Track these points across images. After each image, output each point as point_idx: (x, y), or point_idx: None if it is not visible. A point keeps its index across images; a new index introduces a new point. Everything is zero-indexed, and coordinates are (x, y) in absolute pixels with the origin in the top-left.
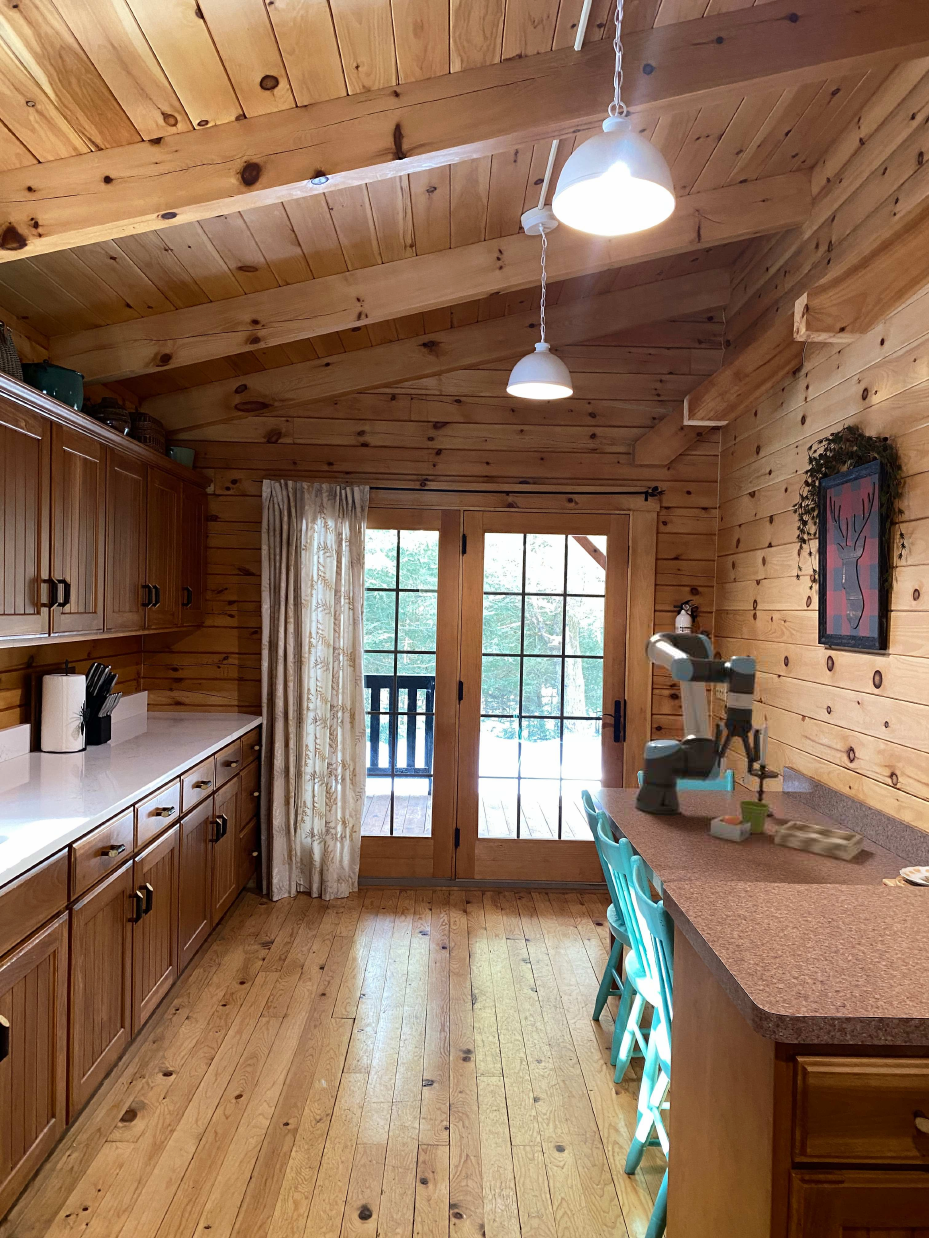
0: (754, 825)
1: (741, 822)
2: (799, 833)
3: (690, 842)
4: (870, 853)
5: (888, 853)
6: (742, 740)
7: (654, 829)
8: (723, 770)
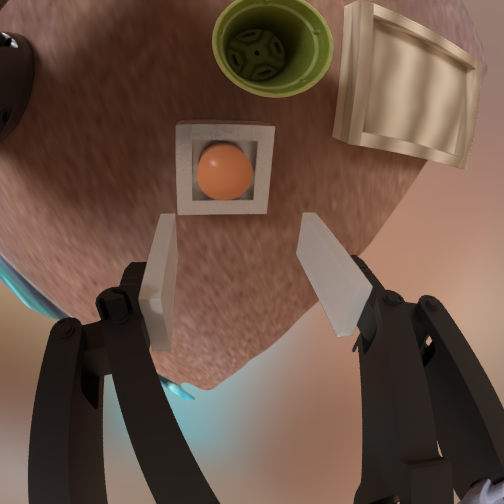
0: (273, 80)
1: (249, 139)
2: (381, 60)
3: (180, 288)
4: None
5: (485, 70)
6: (361, 492)
7: (82, 262)
8: (173, 274)
